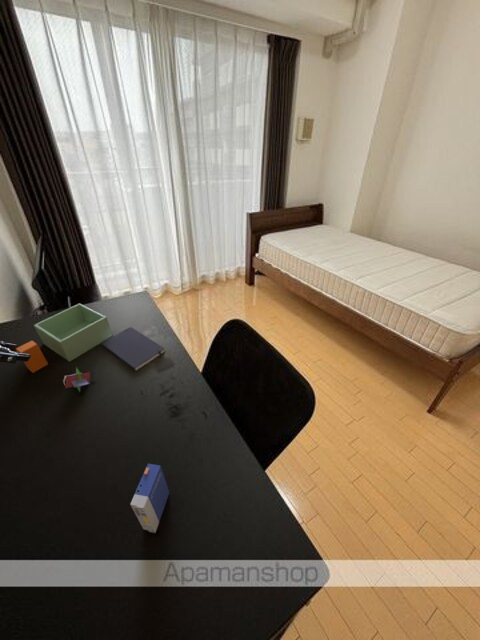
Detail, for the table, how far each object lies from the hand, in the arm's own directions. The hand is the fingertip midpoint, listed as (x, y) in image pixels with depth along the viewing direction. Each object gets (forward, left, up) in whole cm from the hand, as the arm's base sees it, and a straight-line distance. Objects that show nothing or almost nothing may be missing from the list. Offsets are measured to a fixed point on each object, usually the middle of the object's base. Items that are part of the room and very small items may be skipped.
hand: (22, 352), depth 91 cm
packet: (0, +2, -8) cm, 8 cm away
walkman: (+67, -6, -8) cm, 68 cm away
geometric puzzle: (+21, +5, -8) cm, 23 cm away
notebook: (+20, +26, -8) cm, 33 cm away
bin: (-2, +18, -8) cm, 19 cm away
